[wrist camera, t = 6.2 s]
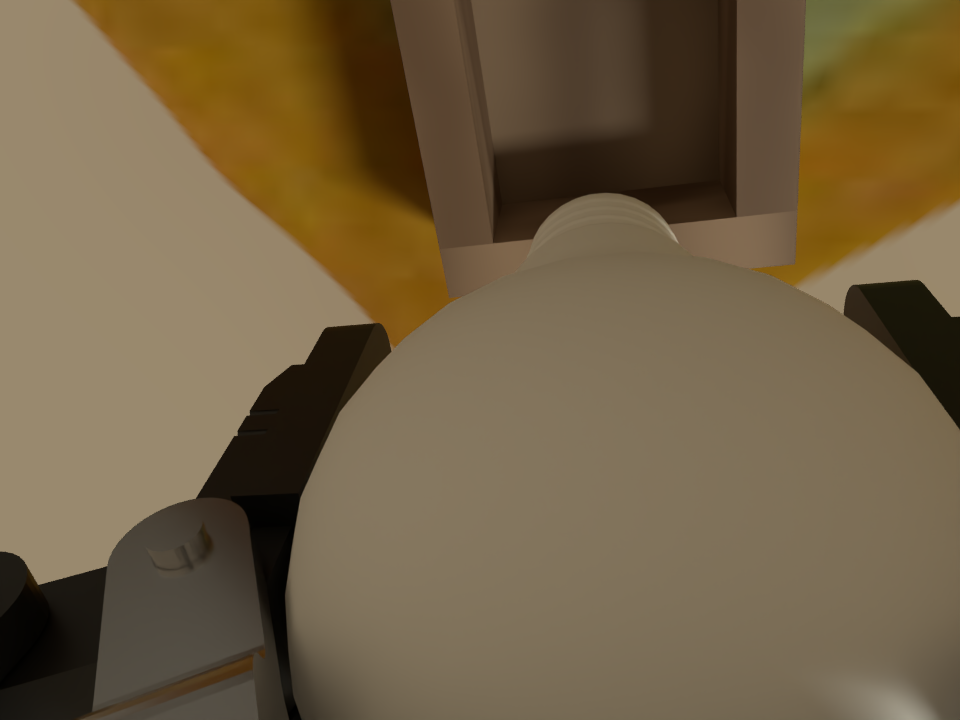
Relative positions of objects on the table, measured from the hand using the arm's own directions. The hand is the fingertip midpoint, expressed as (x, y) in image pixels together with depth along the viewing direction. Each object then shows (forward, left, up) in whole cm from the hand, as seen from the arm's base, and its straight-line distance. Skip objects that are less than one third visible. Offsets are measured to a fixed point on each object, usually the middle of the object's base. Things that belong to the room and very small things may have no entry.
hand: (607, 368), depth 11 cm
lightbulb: (0, 0, -4) cm, 4 cm away
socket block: (0, 0, -20) cm, 20 cm away
